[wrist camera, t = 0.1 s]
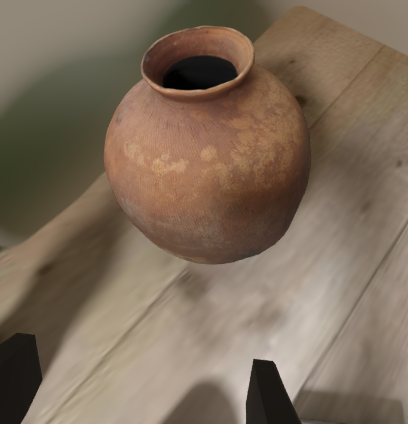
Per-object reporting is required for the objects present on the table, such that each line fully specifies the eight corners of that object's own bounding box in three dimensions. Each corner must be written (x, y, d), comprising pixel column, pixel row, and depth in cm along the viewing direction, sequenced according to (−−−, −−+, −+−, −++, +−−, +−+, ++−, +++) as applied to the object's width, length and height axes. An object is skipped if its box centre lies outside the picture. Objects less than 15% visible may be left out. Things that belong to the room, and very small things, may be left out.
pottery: (269, 301, 43) (339, 226, 21) (105, 254, 46) (9, 142, 23) (298, 160, 52) (367, 3, 30) (160, 128, 55) (129, -37, 33)
